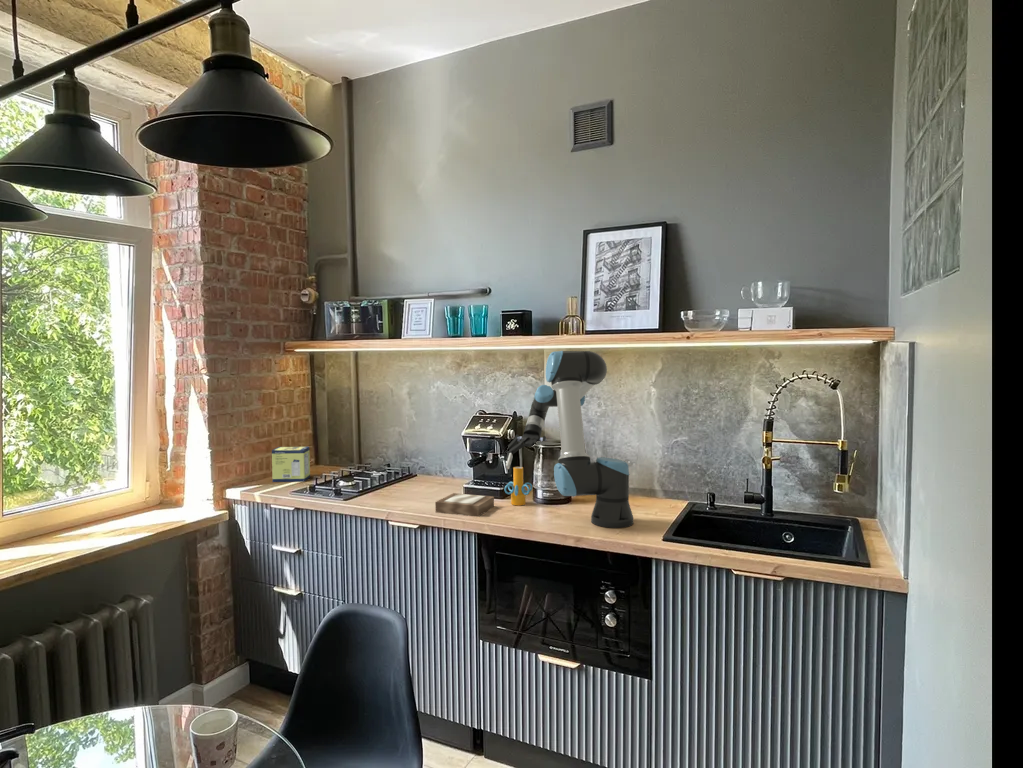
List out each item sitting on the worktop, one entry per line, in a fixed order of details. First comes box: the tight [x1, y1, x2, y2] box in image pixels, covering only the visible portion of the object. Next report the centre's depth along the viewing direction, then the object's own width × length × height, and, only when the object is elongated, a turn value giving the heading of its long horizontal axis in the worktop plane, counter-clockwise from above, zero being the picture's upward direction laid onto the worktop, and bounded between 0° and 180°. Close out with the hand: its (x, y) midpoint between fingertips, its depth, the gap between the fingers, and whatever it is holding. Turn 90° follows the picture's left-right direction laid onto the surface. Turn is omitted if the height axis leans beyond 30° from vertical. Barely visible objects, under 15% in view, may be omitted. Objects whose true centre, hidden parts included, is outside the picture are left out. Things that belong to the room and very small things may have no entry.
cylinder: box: [504, 466, 533, 506], centre depth 248 cm, size 12×10×15 cm
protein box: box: [271, 446, 311, 483], centre depth 297 cm, size 10×16×16 cm
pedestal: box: [435, 492, 495, 517], centre depth 240 cm, size 18×16×4 cm
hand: (522, 468), depth 255 cm, fingers open, 13 cm apart
